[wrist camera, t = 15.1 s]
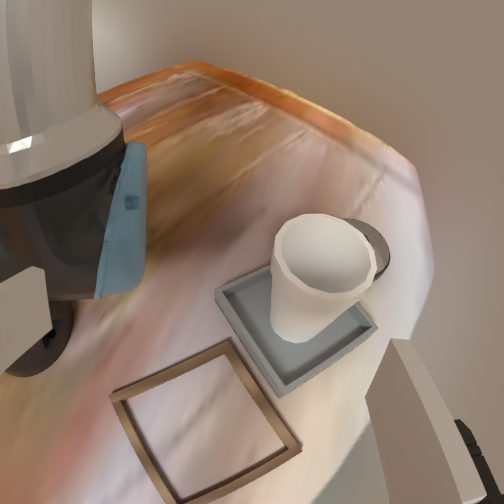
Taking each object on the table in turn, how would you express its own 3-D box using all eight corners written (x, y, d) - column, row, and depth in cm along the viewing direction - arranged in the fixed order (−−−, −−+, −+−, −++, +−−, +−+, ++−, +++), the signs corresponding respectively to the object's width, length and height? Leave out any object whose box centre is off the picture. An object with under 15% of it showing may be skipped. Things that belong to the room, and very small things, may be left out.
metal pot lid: (304, 242, 45) (310, 225, 42) (353, 219, 49) (360, 204, 46) (351, 297, 40) (361, 282, 37) (397, 266, 44) (407, 251, 41)
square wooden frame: (110, 396, 29) (108, 395, 28) (227, 342, 35) (227, 340, 34) (175, 515, 21) (174, 517, 21) (300, 451, 27) (302, 451, 27)
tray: (215, 300, 38) (214, 289, 36) (305, 257, 43) (310, 245, 41) (279, 398, 31) (283, 394, 29) (369, 336, 36) (378, 327, 34)
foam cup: (302, 274, 41) (330, 202, 31) (347, 328, 36) (395, 267, 26) (241, 307, 37) (252, 236, 27) (286, 370, 32) (321, 320, 22)
